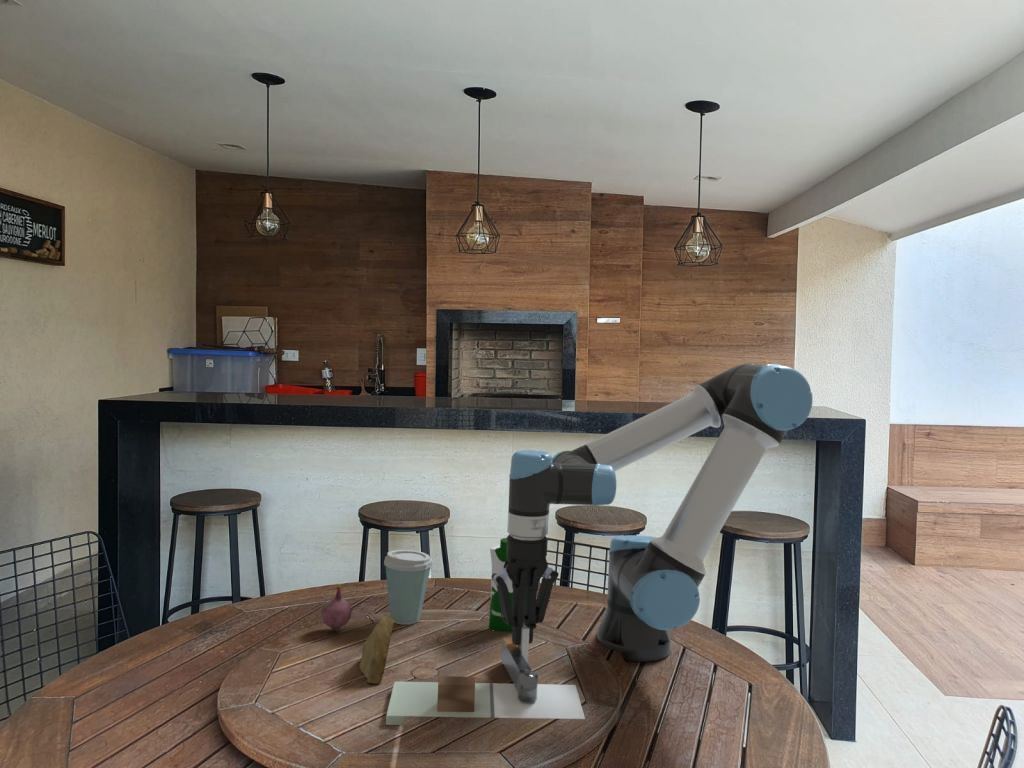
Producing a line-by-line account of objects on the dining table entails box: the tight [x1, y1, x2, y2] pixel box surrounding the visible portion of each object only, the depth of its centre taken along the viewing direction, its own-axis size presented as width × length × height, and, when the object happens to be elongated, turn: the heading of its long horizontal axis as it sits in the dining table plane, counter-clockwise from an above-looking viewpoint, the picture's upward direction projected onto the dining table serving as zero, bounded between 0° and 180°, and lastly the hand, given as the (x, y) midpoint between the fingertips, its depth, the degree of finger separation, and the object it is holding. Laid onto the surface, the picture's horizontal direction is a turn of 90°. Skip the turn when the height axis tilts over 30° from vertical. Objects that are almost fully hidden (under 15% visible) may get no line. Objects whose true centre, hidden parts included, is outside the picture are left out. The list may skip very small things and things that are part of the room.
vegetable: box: [320, 582, 353, 631], centre depth 155 cm, size 6×6×10 cm
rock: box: [358, 614, 394, 684], centre depth 137 cm, size 11×9×10 cm
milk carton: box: [488, 537, 525, 633], centre depth 160 cm, size 9×9×20 cm
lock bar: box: [501, 637, 539, 702], centre depth 132 cm, size 17×3×5 cm, turn 14°
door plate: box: [385, 681, 586, 726], centre depth 125 cm, size 32×12×2 cm, turn 93°
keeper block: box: [437, 675, 476, 712], centre depth 122 cm, size 6×3×4 cm, turn 93°
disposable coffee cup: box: [383, 549, 433, 626], centre depth 163 cm, size 11×11×15 cm
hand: (521, 660), depth 137 cm, fingers closed
